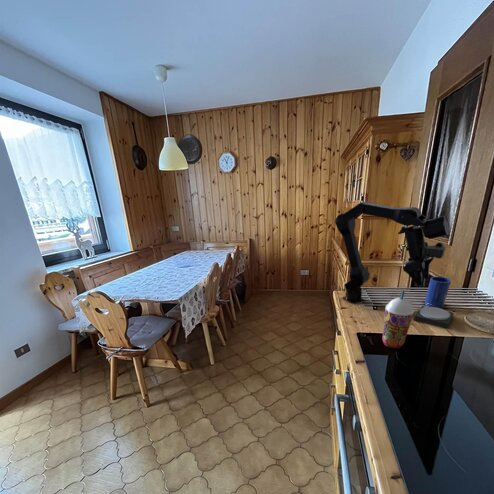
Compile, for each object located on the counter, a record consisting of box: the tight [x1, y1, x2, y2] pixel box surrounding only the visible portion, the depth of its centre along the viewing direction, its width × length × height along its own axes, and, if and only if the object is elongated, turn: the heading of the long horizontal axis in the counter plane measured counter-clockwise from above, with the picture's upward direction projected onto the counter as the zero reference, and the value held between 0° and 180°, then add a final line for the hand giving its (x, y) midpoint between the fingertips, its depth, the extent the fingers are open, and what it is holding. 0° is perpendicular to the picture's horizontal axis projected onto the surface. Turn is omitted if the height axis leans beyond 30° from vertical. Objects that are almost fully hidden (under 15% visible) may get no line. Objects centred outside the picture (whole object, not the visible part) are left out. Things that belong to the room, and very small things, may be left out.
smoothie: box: [381, 289, 415, 349], centre depth 93 cm, size 8×8×20 cm
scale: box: [413, 305, 455, 329], centre depth 111 cm, size 11×11×3 cm
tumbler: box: [424, 276, 452, 309], centre depth 120 cm, size 7×7×12 cm
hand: (423, 281), depth 108 cm, fingers open, 9 cm apart
